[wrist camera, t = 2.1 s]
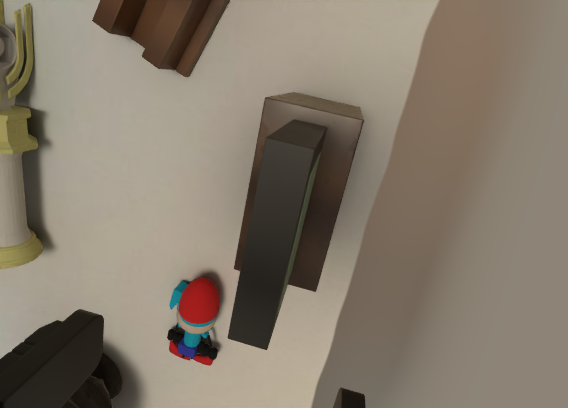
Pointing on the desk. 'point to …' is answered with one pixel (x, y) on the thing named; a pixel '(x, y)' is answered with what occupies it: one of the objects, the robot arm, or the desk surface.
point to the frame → (275, 229)
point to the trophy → (14, 144)
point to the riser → (328, 179)
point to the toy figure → (194, 320)
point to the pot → (97, 387)
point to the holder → (163, 28)
